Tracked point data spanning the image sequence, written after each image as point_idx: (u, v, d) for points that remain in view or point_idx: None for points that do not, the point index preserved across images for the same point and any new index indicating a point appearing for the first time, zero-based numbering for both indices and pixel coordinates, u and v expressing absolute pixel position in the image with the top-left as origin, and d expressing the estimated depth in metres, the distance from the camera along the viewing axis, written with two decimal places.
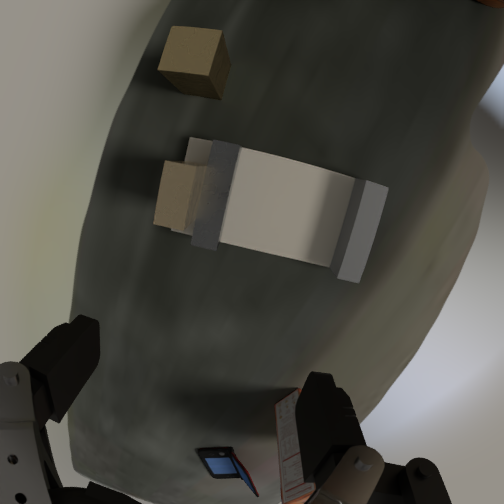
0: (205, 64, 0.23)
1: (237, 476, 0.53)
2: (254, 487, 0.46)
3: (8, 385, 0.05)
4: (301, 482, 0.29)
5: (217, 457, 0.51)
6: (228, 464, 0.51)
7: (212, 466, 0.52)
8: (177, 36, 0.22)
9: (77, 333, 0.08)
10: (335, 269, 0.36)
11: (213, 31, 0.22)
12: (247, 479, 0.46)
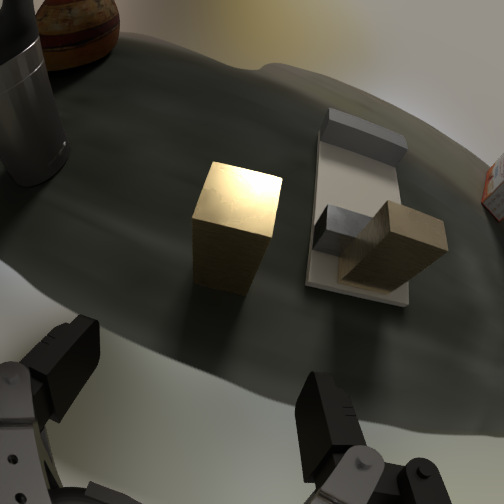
0: (265, 180, 0.21)
1: None
2: None
3: (8, 385, 0.05)
4: None
5: None
6: None
7: None
8: (214, 210, 0.19)
9: (77, 333, 0.08)
10: (399, 154, 0.37)
11: (213, 170, 0.20)
12: None
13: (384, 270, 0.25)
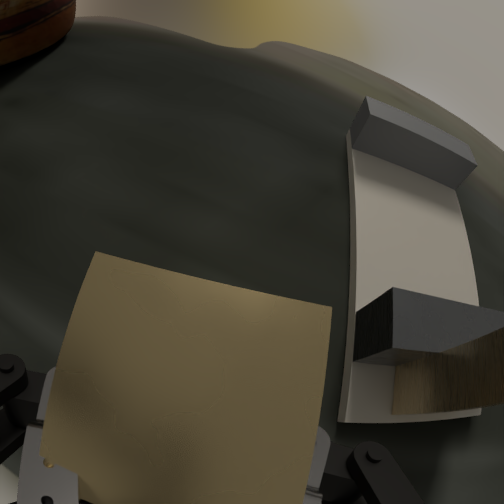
0: (276, 323, 0.06)
1: None
2: None
3: None
4: None
5: None
6: None
7: None
8: (96, 464, 0.04)
9: None
10: (464, 172, 0.22)
11: (91, 289, 0.05)
12: None
13: None
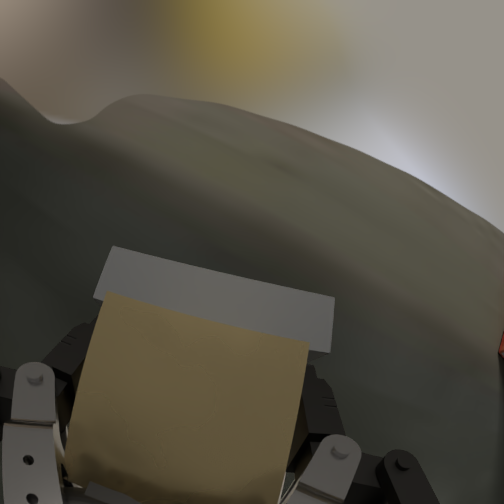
0: (260, 356, 0.07)
1: None
2: None
3: (33, 386, 0.05)
4: None
5: None
6: None
7: None
8: (112, 466, 0.05)
9: None
10: (308, 355, 0.15)
11: (104, 324, 0.06)
12: None
13: None
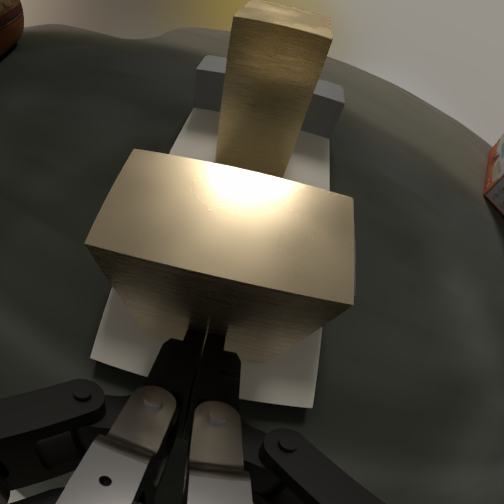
0: (312, 14, 0.14)
1: None
2: None
3: (157, 413, 0.06)
4: None
5: None
6: None
7: None
8: (260, 16, 0.12)
9: (196, 348, 0.10)
10: (332, 114, 0.22)
11: (253, 1, 0.13)
12: None
13: None
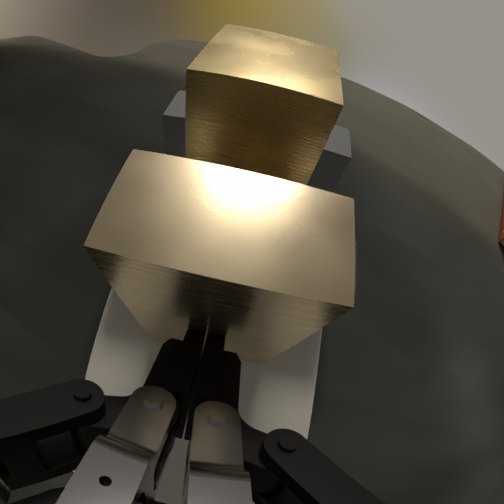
0: (313, 46, 0.10)
1: None
2: None
3: (157, 413, 0.06)
4: None
5: None
6: None
7: None
8: (230, 63, 0.09)
9: (196, 348, 0.10)
10: (334, 170, 0.19)
11: (226, 30, 0.10)
12: None
13: None
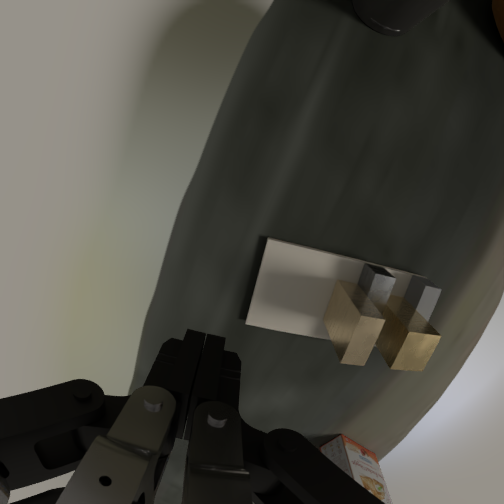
0: (423, 363, 0.29)
1: None
2: None
3: (157, 413, 0.06)
4: None
5: None
6: None
7: None
8: (410, 341, 0.28)
9: (196, 348, 0.10)
10: None
11: (435, 337, 0.28)
12: None
13: (338, 314, 0.35)
